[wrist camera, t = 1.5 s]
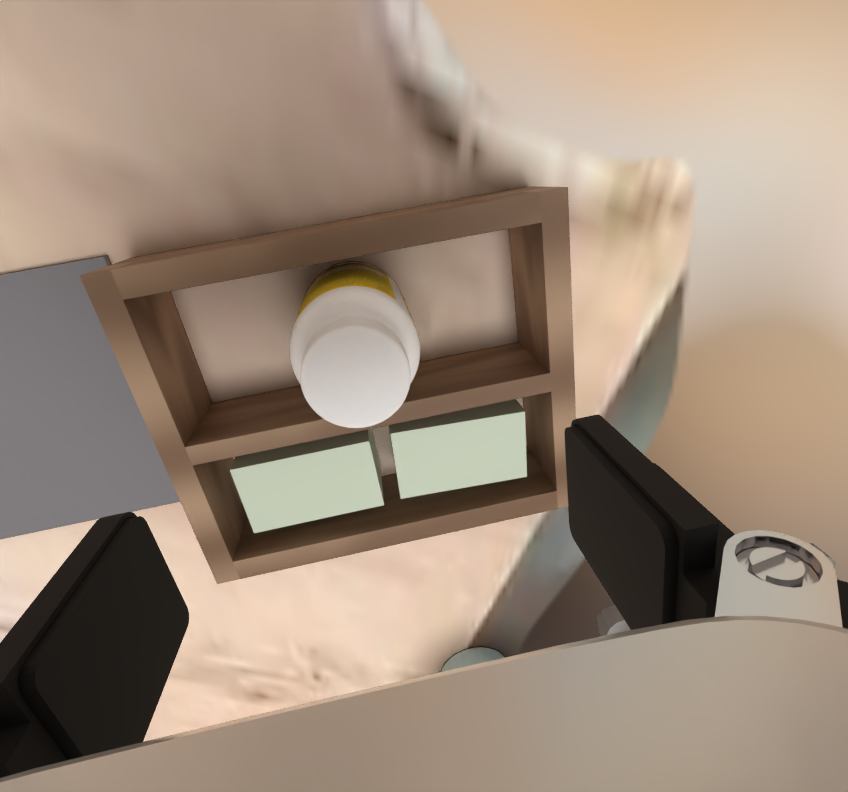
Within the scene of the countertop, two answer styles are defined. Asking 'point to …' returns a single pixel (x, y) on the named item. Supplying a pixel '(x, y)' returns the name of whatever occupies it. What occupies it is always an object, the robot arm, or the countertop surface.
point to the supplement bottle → (354, 346)
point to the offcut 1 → (309, 480)
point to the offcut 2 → (460, 449)
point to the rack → (297, 422)
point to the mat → (67, 410)
